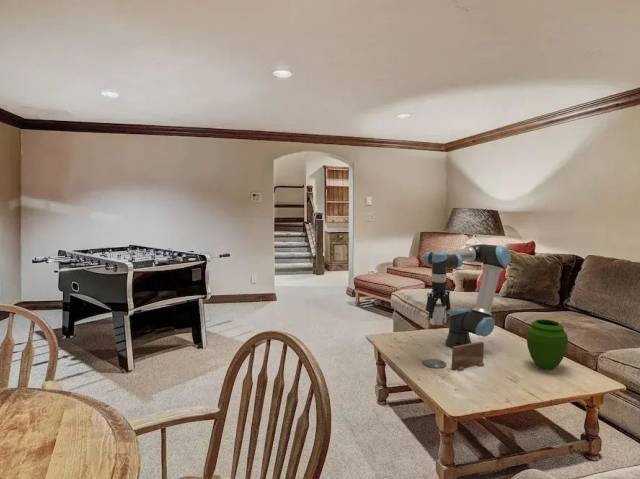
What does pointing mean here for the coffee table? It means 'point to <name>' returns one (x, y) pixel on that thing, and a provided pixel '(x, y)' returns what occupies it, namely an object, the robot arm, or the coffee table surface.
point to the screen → (467, 356)
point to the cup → (439, 314)
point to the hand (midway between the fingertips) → (437, 323)
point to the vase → (546, 343)
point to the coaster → (434, 363)
